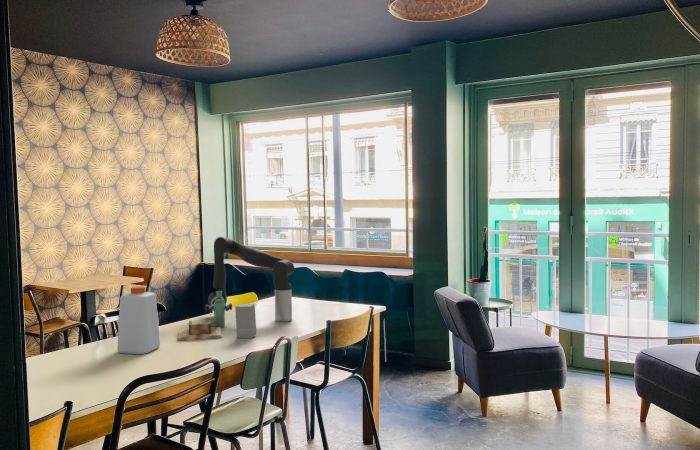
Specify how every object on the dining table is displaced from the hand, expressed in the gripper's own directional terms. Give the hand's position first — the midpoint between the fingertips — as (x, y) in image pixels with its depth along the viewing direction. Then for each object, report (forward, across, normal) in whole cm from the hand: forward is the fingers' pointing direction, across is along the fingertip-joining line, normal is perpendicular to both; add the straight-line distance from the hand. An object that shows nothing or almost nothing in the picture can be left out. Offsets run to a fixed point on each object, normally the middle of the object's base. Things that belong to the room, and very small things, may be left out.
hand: (219, 309), depth 283 cm
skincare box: (+23, +12, +10) cm, 28 cm away
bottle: (-2, 0, +10) cm, 10 cm away
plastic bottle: (+34, -36, +10) cm, 51 cm away
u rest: (+13, -10, +10) cm, 19 cm away
